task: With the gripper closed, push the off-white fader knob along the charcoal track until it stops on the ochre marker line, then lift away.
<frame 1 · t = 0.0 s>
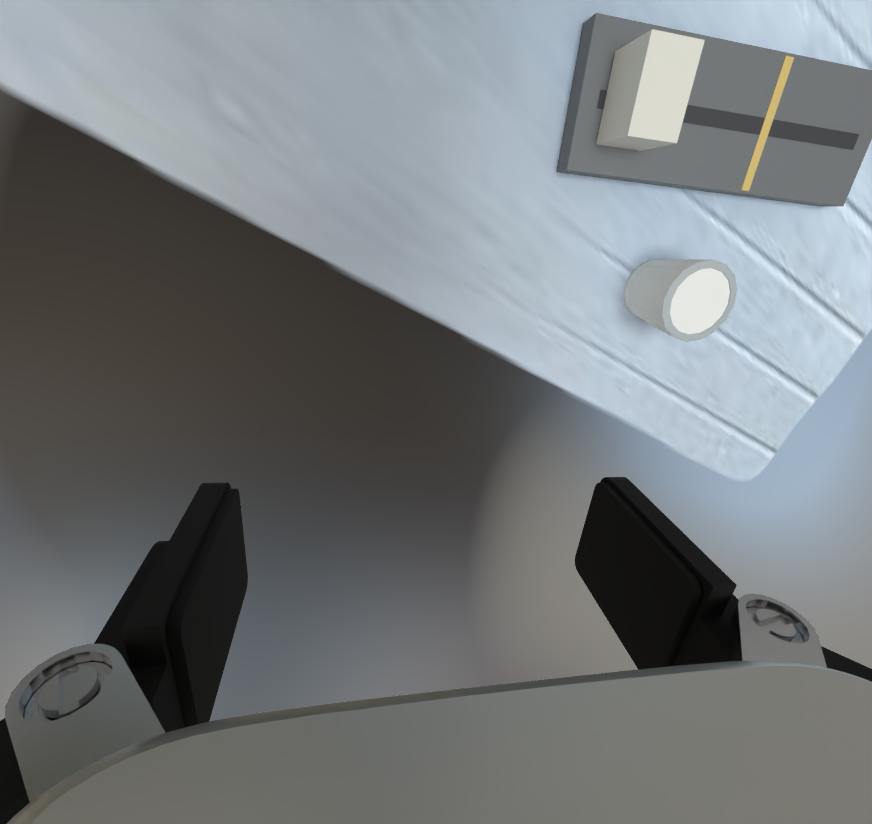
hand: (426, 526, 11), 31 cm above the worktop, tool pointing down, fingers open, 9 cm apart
fader knob: (645, 96, 32), point 4 cm above the worktop, slide at 0.0 cm
fader track: (717, 126, 38), on the worktop
white cylinder: (649, 288, 44), on the worktop
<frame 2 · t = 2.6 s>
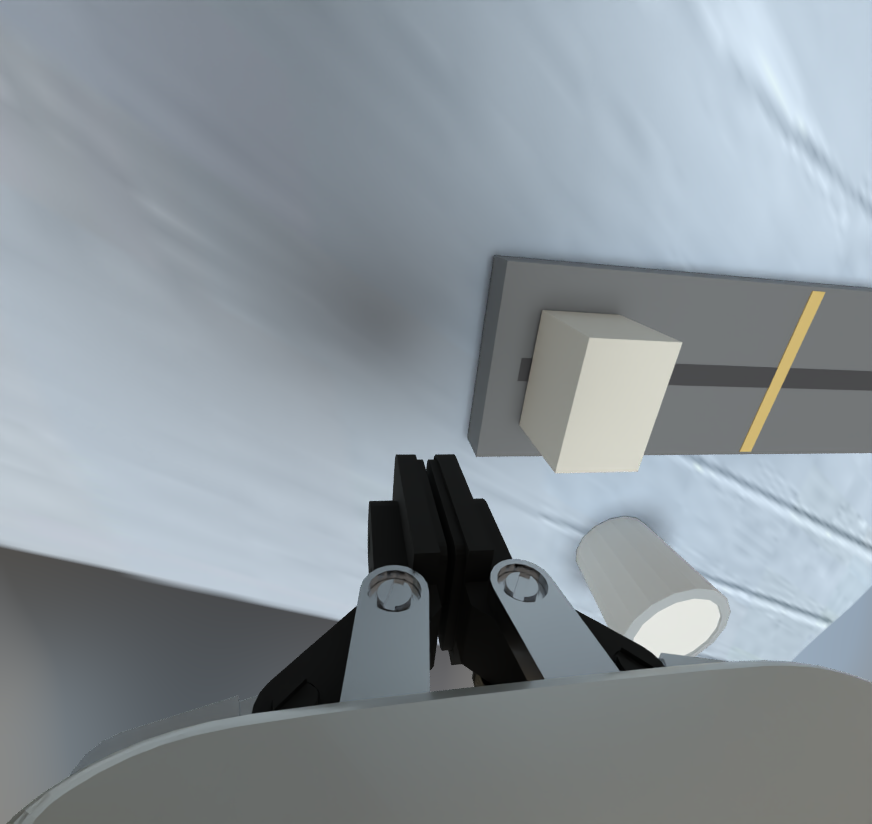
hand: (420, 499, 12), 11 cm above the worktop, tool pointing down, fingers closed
fader knob: (589, 389, 20), point 4 cm above the worktop, slide at 0.0 cm
fader track: (707, 364, 26), on the worktop
white cylinder: (611, 545, 32), on the worktop
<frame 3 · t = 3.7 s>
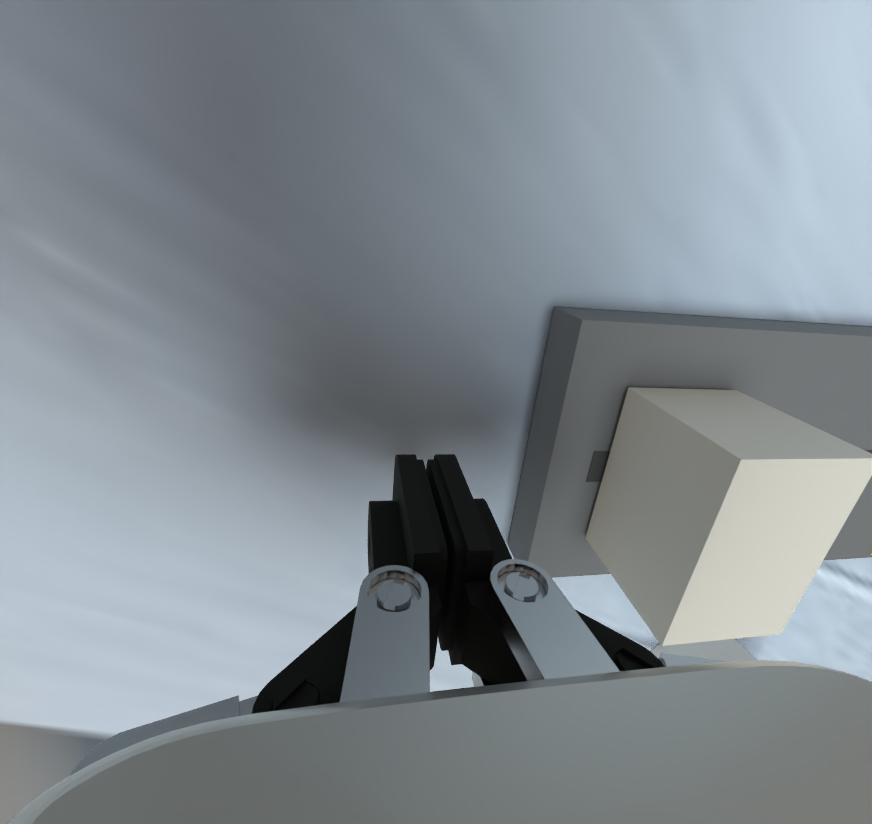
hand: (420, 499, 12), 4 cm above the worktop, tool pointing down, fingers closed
fader knob: (702, 506, 13), point 4 cm above the worktop, slide at 0.0 cm
fader track: (827, 439, 19), on the worktop
white cylinder: (683, 657, 25), on the worktop
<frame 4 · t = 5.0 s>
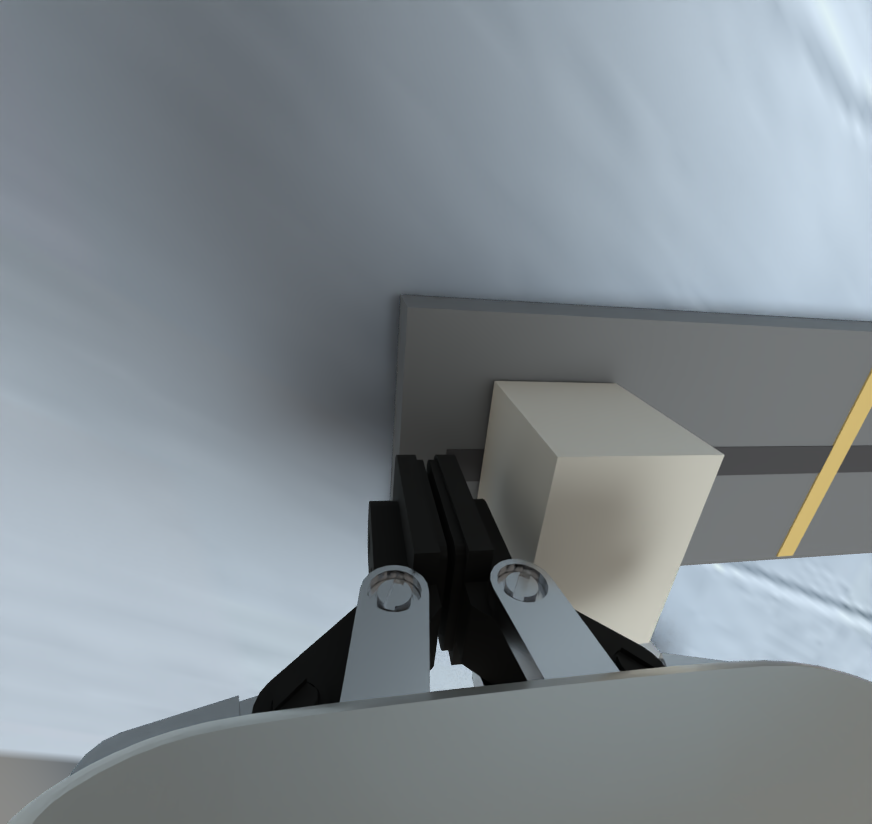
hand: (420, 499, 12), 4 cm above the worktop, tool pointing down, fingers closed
fader knob: (569, 507, 13), point 4 cm above the worktop, slide at 0.7 cm, touching gripper
fader track: (728, 435, 18), on the worktop
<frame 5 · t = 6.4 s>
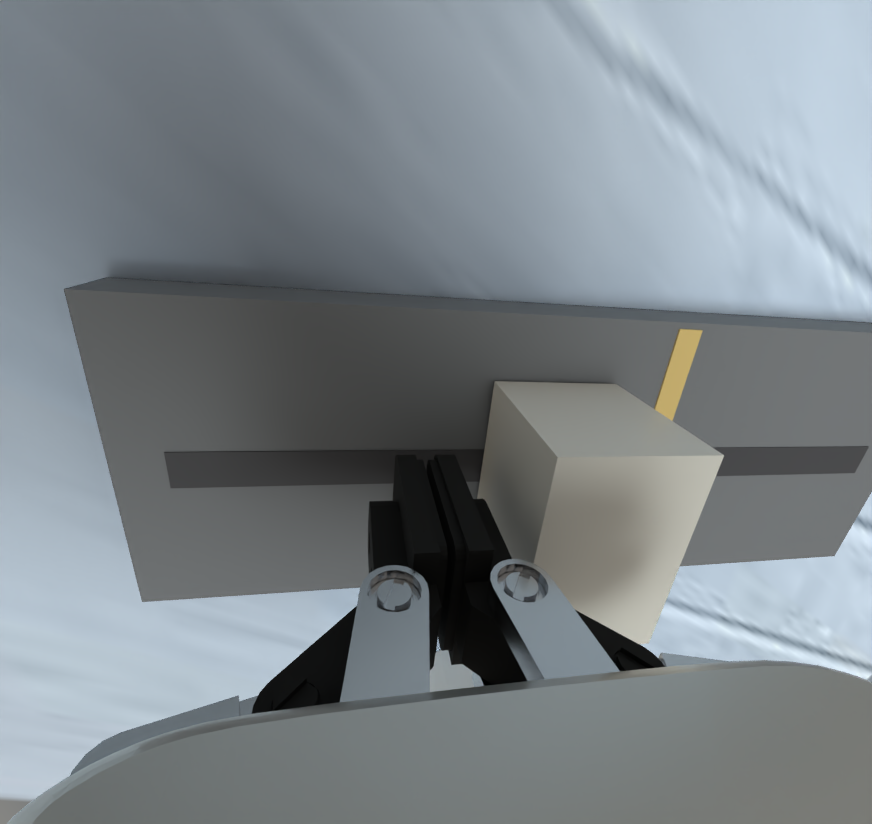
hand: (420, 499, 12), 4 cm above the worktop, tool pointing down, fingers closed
fader knob: (569, 507, 13), point 4 cm above the worktop, slide at 8.9 cm, touching gripper
fader track: (545, 437, 17), on the worktop
white cylinder: (455, 679, 22), on the worktop
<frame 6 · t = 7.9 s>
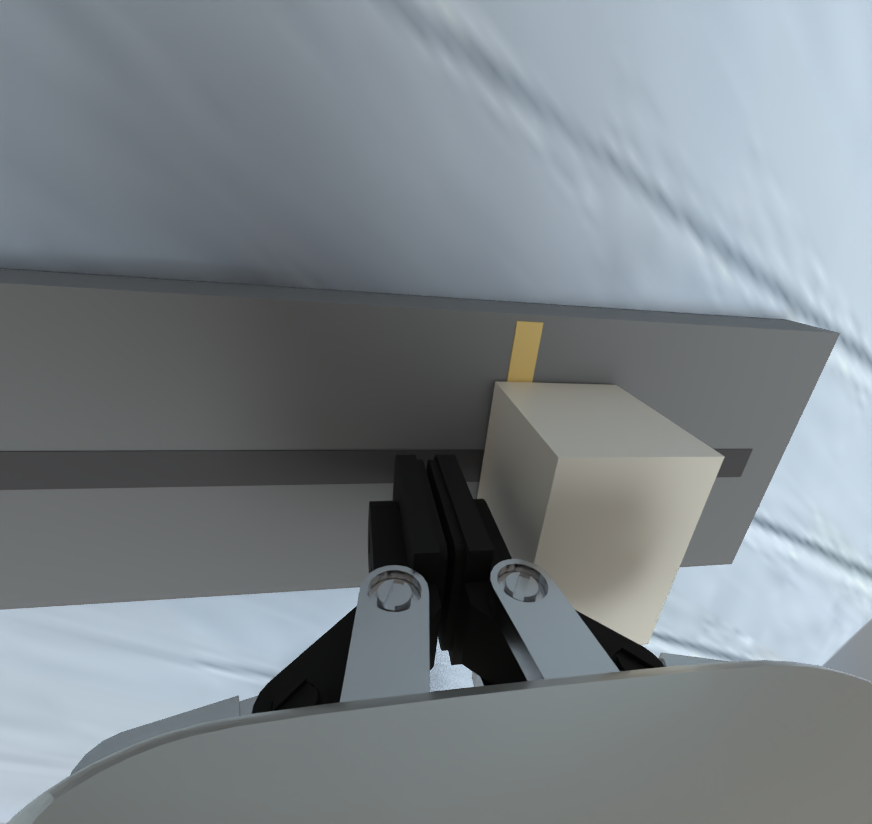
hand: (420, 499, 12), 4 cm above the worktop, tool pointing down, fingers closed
fader knob: (569, 508, 13), point 4 cm above the worktop, slide at 14.2 cm, touching gripper
fader track: (407, 437, 16), on the worktop
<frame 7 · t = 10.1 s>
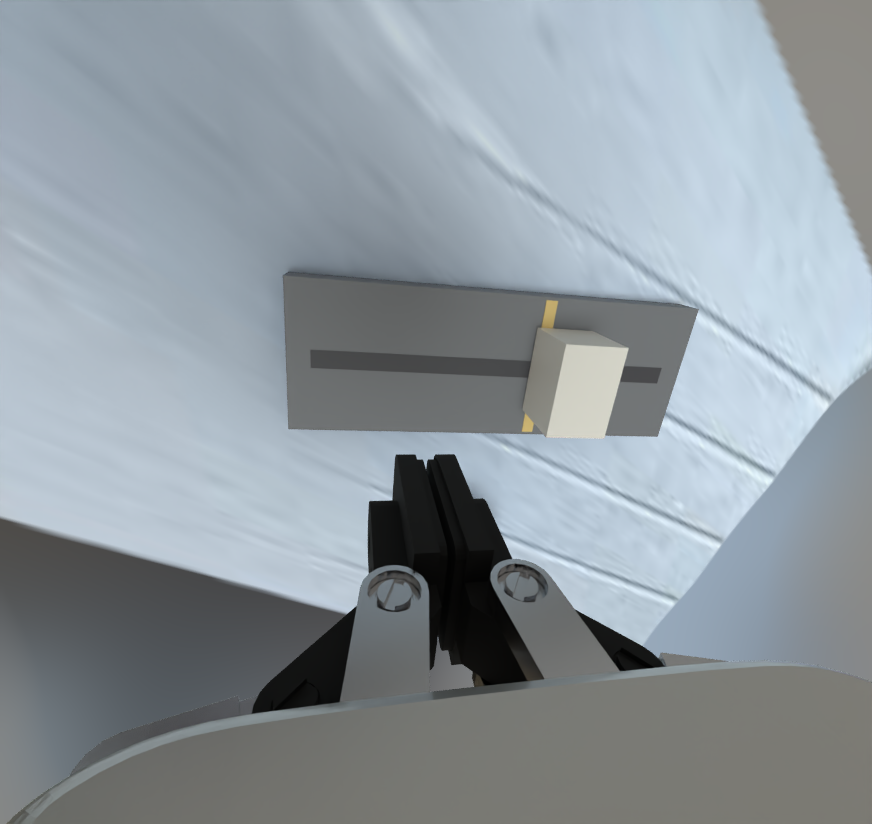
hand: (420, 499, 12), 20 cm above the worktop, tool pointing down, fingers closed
fader knob: (570, 381, 29), point 4 cm above the worktop, slide at 14.3 cm
fader track: (490, 359, 32), on the worktop
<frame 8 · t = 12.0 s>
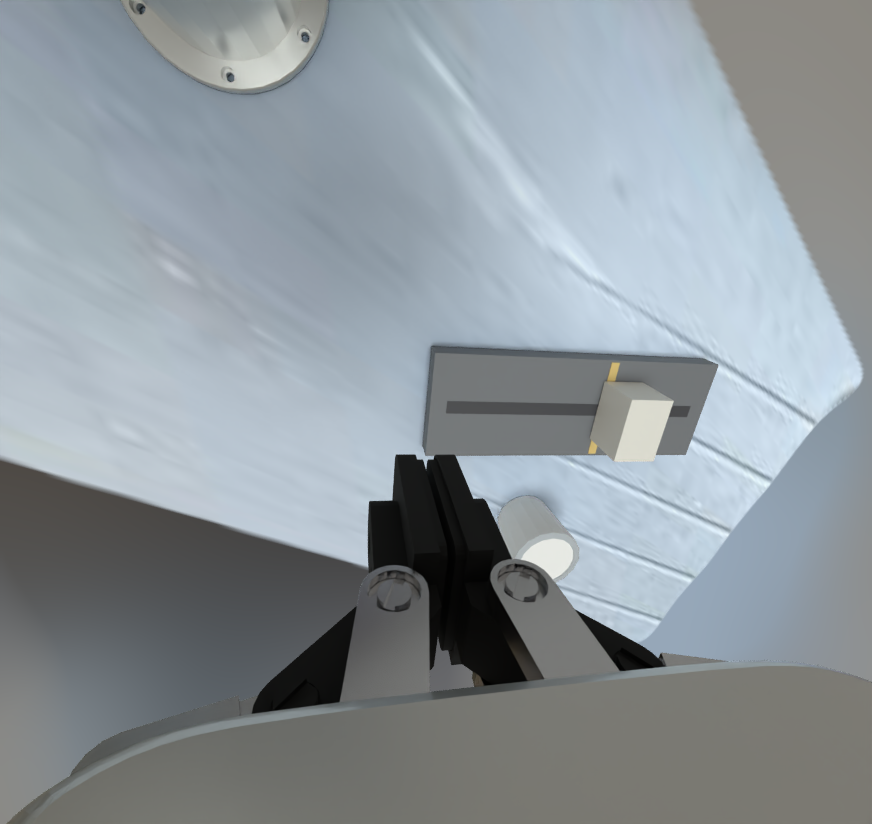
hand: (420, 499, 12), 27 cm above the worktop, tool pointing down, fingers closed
fader knob: (628, 420, 40), point 4 cm above the worktop, slide at 14.3 cm
fader track: (565, 401, 44), on the worktop
white cylinder: (521, 515, 49), on the worktop
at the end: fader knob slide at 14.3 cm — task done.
